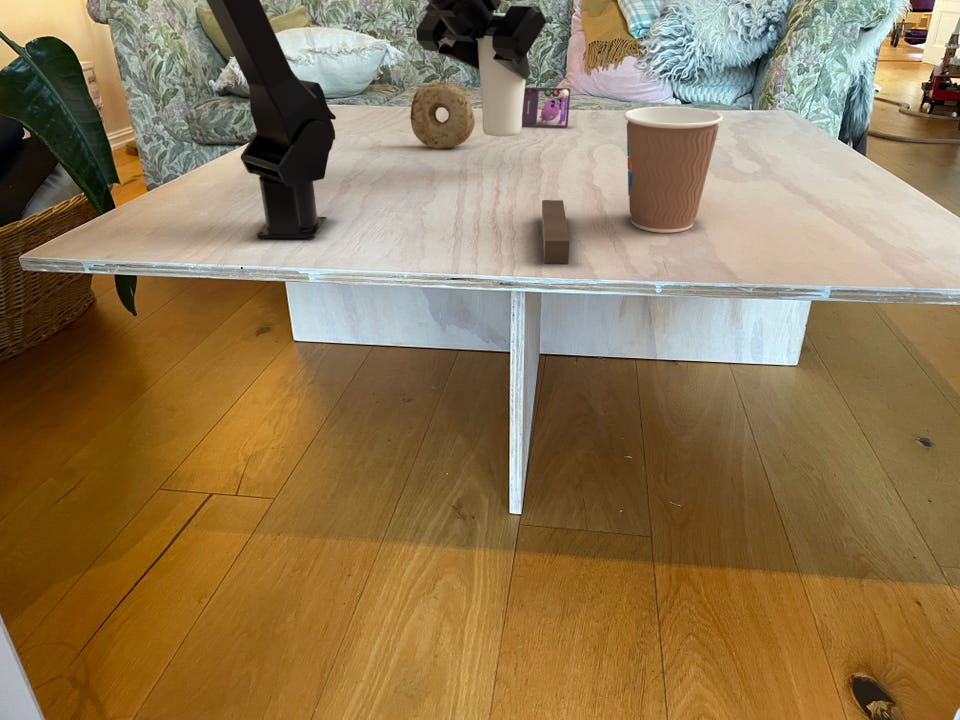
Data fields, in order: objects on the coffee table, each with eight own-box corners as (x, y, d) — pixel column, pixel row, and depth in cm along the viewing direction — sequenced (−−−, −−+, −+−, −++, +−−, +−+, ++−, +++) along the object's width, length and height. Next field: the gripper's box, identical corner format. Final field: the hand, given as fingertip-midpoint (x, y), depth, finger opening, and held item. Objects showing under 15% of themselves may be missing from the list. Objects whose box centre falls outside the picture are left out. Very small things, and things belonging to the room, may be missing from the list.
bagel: (408, 149, 120) (404, 84, 115) (415, 144, 123) (412, 80, 118) (470, 151, 118) (469, 85, 113) (476, 146, 121) (475, 82, 116)
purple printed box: (520, 86, 133) (569, 87, 131) (524, 92, 138) (572, 93, 136) (517, 125, 134) (566, 126, 132) (522, 129, 139) (569, 131, 137)
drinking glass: (522, 139, 98) (525, 14, 91) (472, 137, 99) (472, 14, 93) (530, 131, 104) (533, 13, 97) (483, 129, 105) (483, 13, 99)
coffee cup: (643, 205, 91) (652, 103, 85) (723, 220, 85) (739, 112, 79) (599, 226, 84) (606, 116, 78) (683, 244, 78) (697, 127, 72)
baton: (568, 263, 74) (569, 240, 73) (544, 263, 74) (545, 240, 73) (562, 220, 86) (563, 200, 85) (541, 220, 86) (542, 200, 85)
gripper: (538, -74, 82) (594, 29, 94) (429, -68, 94) (491, 23, 106) (487, 7, 81) (550, 101, 93) (384, 3, 93) (451, 86, 105)
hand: (509, 74), depth 99 cm, fingers closed on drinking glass, 6 cm apart
